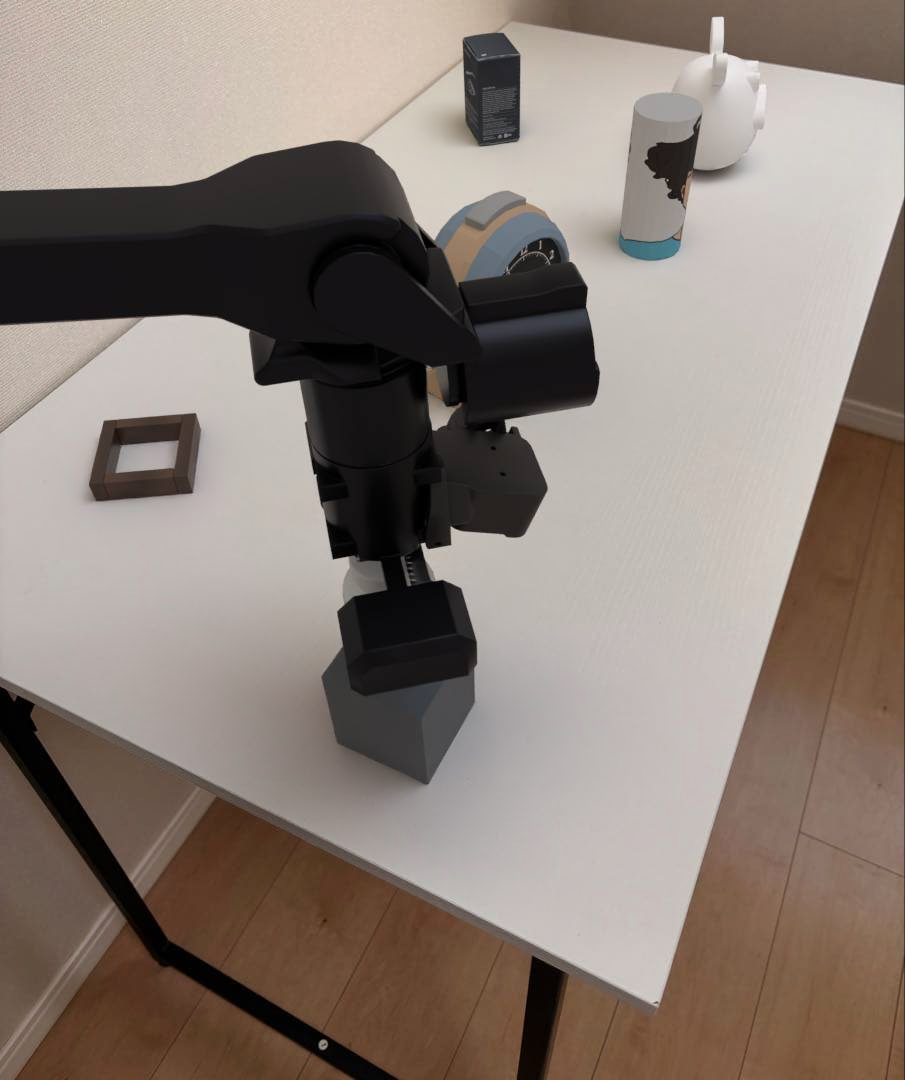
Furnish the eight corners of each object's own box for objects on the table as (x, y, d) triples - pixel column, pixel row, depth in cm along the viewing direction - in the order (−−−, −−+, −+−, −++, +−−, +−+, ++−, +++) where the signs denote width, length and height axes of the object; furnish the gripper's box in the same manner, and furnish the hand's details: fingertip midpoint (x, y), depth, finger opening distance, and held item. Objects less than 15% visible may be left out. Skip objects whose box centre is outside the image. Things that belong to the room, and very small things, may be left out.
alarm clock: (483, 434, 84) (482, 257, 71) (405, 388, 88) (391, 214, 75) (581, 359, 91) (597, 185, 77) (504, 320, 95) (507, 150, 82)
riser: (336, 742, 63) (320, 676, 57) (388, 665, 67) (378, 595, 62) (427, 785, 61) (421, 720, 55) (475, 702, 65) (474, 633, 59)
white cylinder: (688, 256, 102) (712, 118, 91) (628, 263, 102) (645, 125, 90) (669, 224, 107) (690, 89, 95) (611, 231, 106) (625, 95, 95)
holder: (95, 501, 80) (88, 484, 78) (110, 436, 85) (103, 420, 84) (192, 492, 80) (187, 476, 78) (201, 429, 85) (196, 412, 84)
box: (520, 141, 121) (522, 53, 113) (478, 147, 121) (477, 59, 113) (504, 115, 127) (505, 29, 119) (463, 120, 126) (461, 34, 118)
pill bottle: (419, 608, 61) (410, 504, 54) (455, 669, 57) (451, 567, 50) (341, 639, 59) (321, 536, 52) (374, 703, 56) (357, 603, 49)
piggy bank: (770, 182, 112) (801, 49, 101) (676, 192, 111) (696, 59, 100) (734, 135, 121) (759, 8, 109) (645, 145, 120) (661, 17, 109)
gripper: (594, 539, 39) (570, 732, 51) (488, 294, 52) (488, 494, 63) (330, 588, 38) (367, 774, 50) (285, 324, 50) (323, 523, 62)
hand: (394, 625), depth 56 cm, fingers open, 7 cm apart
